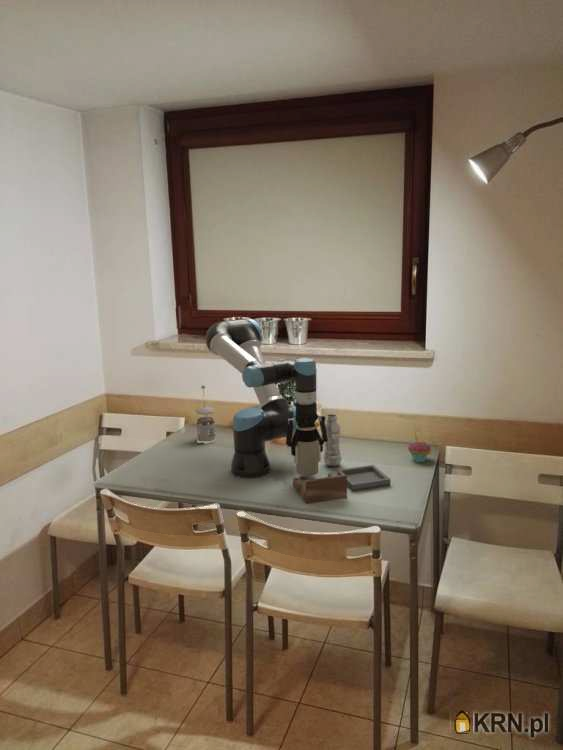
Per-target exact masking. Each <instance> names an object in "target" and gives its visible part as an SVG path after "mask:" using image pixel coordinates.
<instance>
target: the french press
mask: <svg viewBox="0 0 563 750" xmlns="http://www.w3.org/2000/svg"><path fill="white" fill-rule="evenodd" d="M200 389H202V392H203V396H205V391H204V390H205V389H206V385H202V384H201V386H200ZM205 403H206V402H203V405H204V406H201V407H199V408H197V409H196V410H195V414H197V415H198V414H199V415H206V416H203V417H199V418H197V420H196V421H197V422H196V431H197V439H198V440H199V441H212V440H214V439H215V437H216V428H215V427H216V424H215V421H214V417H212V414H213V413H214V411H215V409H214V408H212V407H210V406H205ZM209 414H210V416H209Z"/></svg>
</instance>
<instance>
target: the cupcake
mask: <svg viewBox="0 0 563 750" xmlns="http://www.w3.org/2000/svg"><path fill="white" fill-rule="evenodd" d="M414 439H415V442H412V443H410V444H409V445H408V448H407V450H408V452H409V453H410V454H411V456H412V457H411V459H412V461H414V462H416V463H423V462H426V460H427V457H428V455H429V454H431V452H432V449H431V446H430V445H429V443H427V442H423V441H418V435H417V431H416V429H414Z"/></svg>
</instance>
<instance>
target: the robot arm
mask: <svg viewBox="0 0 563 750" xmlns="http://www.w3.org/2000/svg"><path fill="white" fill-rule="evenodd" d="M262 333H263V330H262V328H261V326H260V325H259V323H258V322H257V321H256V320H255V319H252V318H241V319H236V320H226V321H219V322H216V323H214V324H212V325H211V326H210V327H209V328H208V330H207V332H206V334H205V337H204V338H205V339H204V340H205V344H206V347H207V349H208V350H209V351H210V353H212V354H213V355H215V356H220V357H221V358H222V359H223V360H224V361H226V362H227V363H228V364H230V366H232V367H233V368H234V369H236V370H237V372H239V373H241V377H242V381H243V383H244V385H245V386H246V387H247V388H253V390H254V393H255V395H256V398H257V400H258V402H259V405H260V407H249V408H244V409H240V410H239V411H238V412H236V413H235V414H234V416H233V419H232V429H233V430H232V431H233V446H234V447H233V449H234V452H233V457H232V461H231V463H230V472H232V473H233V474H234V476H235V475H236V476H235V477H238V476H240V477H239V478H244V477H246V478H258V477H263V476H265V475H268V473H270V472H271V462H270V460H269V457H268V454H267V451H266V443H267V442H269V441H274V440H278V439H281V438H286V439H285V444H286V446H287V447H288V448H289V447H290V448H291V449H290V452H291V456H293V463H294V464H295V465H298V447H297V446H296V444H297V442H298V435H299V433H300V432H299V430H298V429H297V428H296V426H298V427H299V426H300V427H299V428H304V427H310V426H312V427H315V426H316V425H317V424H316V422H317V420H318V423H319V427H320V432H319V431H318V427H317V428H316V432H317V434H318V463H319V462H322V460H321V459H322V458H321V453H322V452H323V451H324V447H323V446H324V445H325V442H327V441H328V438H327V433H326V427H325V424H326V416H324V414H318V411H317V409H318V404H317V363H316V360H315V359H314V358H309V357H300V358H297V359H295V360H293V359H291V358H280V359H279V360H277V361H276V362H270V363H268V362H267V363H266V360H265V358H264V357H263V353H262V351H261V349H260V348H261V346H262V341H263V334H262ZM285 382H291V383H294V388H295V389H294V390H295V393H294V395H295V397H294V398H295V400H294V401H295V405H294V404H289V403H288V400H287V398H284V397H282V396H281V394H280V392H279V390H278V388H277V385H276V384H280V383H285ZM315 424H316V425H315ZM320 433H321V434H320ZM232 473H231V474H232ZM233 474H232V475H233Z"/></svg>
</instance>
